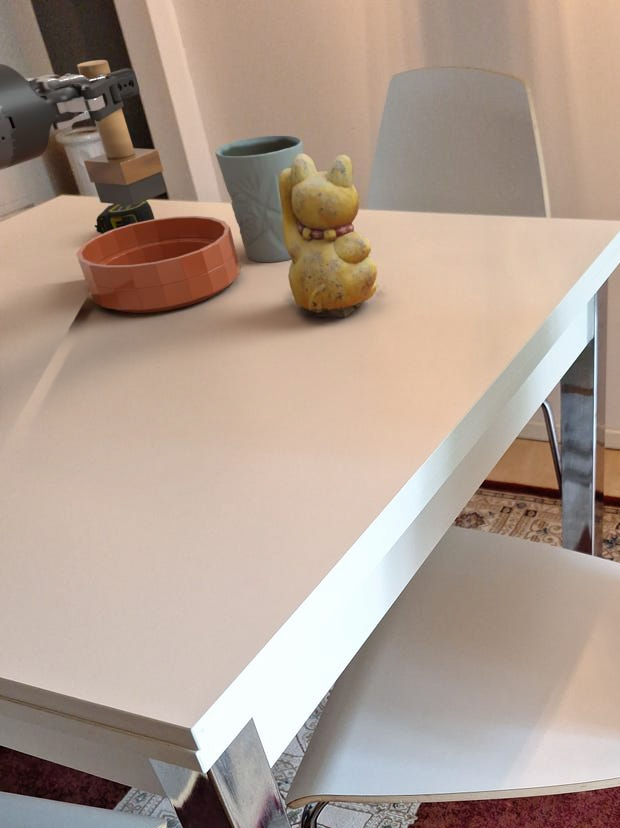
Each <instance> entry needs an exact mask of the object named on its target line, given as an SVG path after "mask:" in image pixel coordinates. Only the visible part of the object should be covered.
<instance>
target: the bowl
mask: <svg viewBox="0 0 620 828" xmlns="http://www.w3.org/2000/svg"><path fill="white" fill-rule="evenodd" d="M75 254H76V255H75V256H76V258H77V260H78V263H79V266H80V268H81V270H82V275H83V276H84V279H85V282H86V285H87V288H88V290H89V293H90V296H91V299H92V301H93V303H95V304H97V305H99V306H101V307H103V308H106V309H112V310H115V311H117V312H118V311H119V312H122V313H130V314H131V313H132V314H147V313H158V312H165V311H171V310H176V309H180V308H184V307H188V306H191V305H195V304H198V303H200V302H203V301H206V300H208V299H211V298H212V297H214V296H216V295H218V294H219V293H221V292H222V291H224V290H225V289H226V288H227V287H228V286H229V285H231V284H232V283H233V282H234V281H235V280H236V279H238V277H239V275H240V271H241V266H240V262H239V258H238V253H237V248H236V245H235V241H234V238H233V234H232V228H231V226H230V225H229V224H228V223H227V222H226V221H225V220H222V219H219V218H215V217H211V216H203V215H202V216H201V215H183V216H168V217H161V218H155V219H154V220H148V221H143V222H138V223H134V224H130V225H126V226H123V227H120V228H117V229H113V230H110V231H108V232H106V233H103V234H101V233H100V234H98V235H97V236H95V237H92V238H91V239H89V240H88V241H86V242H84V244H82V245H80V247H79V248H78V250H77V251H76V253H75Z"/></svg>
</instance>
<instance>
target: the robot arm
mask: <svg viewBox="0 0 620 828" xmlns="http://www.w3.org/2000/svg"><path fill="white" fill-rule="evenodd" d="M110 72H111V71H110ZM139 93H140V87H139V81H138V79H137V77H136V72H135V71H134V69H132V68H122V69H117V70H114V71H112V72H111V73H108V74H105V75H102V74H97V76H94V77H90V78H86V77H85V76H83V75H80V73H79V74H71V73H65V74H64V75H62V76H60V75H59V74H44V75H41V76H39V77H38V76H37V77H24V75H22V74H21V73H20V72H19V71H17V69H15V68H13V67H11V66H9V65H6V64H3V63H0V171H3V170H6V169H8V168H11V167H14V166H17V165H19V164H22V163H25V162H29V161H31V160H35V159H38V158H40V157H41V156H43V155H44V154H45V152H46V151H47V149H48V147H49V143H50V136H51V135H50V134H51V130H53V131H59V130H65V129H69V128H71V127H72V126H73V124H75V123H78V122H81V121H86V120H90V121H94V122H95V121H96V122H97V121H101V119H104V118H106V117H107V116H109V115H110V114H112V113H114V112H115V111H117V110H119V109H121V108H124V102H123V100H125V99H127V98H131V97H134V96H138V95H139ZM51 128H52V129H51Z"/></svg>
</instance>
